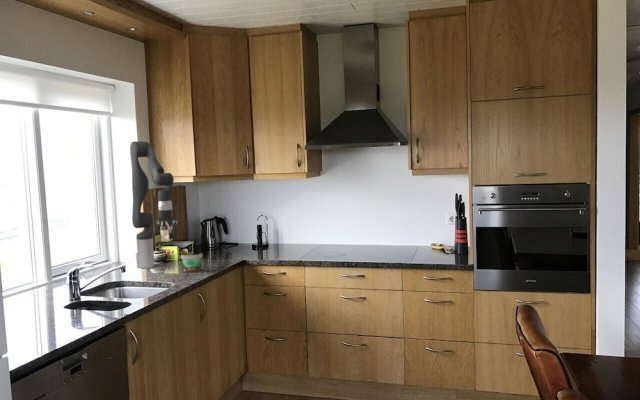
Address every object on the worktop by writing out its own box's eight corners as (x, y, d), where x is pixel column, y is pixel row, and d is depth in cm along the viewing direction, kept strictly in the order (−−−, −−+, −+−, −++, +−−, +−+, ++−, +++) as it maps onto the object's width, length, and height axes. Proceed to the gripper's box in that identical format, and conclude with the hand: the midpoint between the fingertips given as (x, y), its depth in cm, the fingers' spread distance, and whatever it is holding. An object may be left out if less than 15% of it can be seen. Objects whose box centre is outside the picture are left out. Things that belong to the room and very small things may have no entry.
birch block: (161, 241, 292) (160, 230, 292) (165, 239, 297) (164, 229, 296) (168, 241, 291) (168, 230, 291) (172, 239, 296) (172, 229, 295)
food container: (181, 274, 293) (180, 256, 292) (181, 271, 299) (180, 254, 298) (204, 272, 296) (203, 254, 296) (203, 269, 302) (202, 252, 301)
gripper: (150, 209, 290) (151, 240, 292) (173, 209, 287) (175, 240, 289) (157, 208, 298) (159, 237, 299) (180, 208, 294) (181, 238, 296)
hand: (167, 238), depth 294 cm, fingers closed on birch block, 4 cm apart
